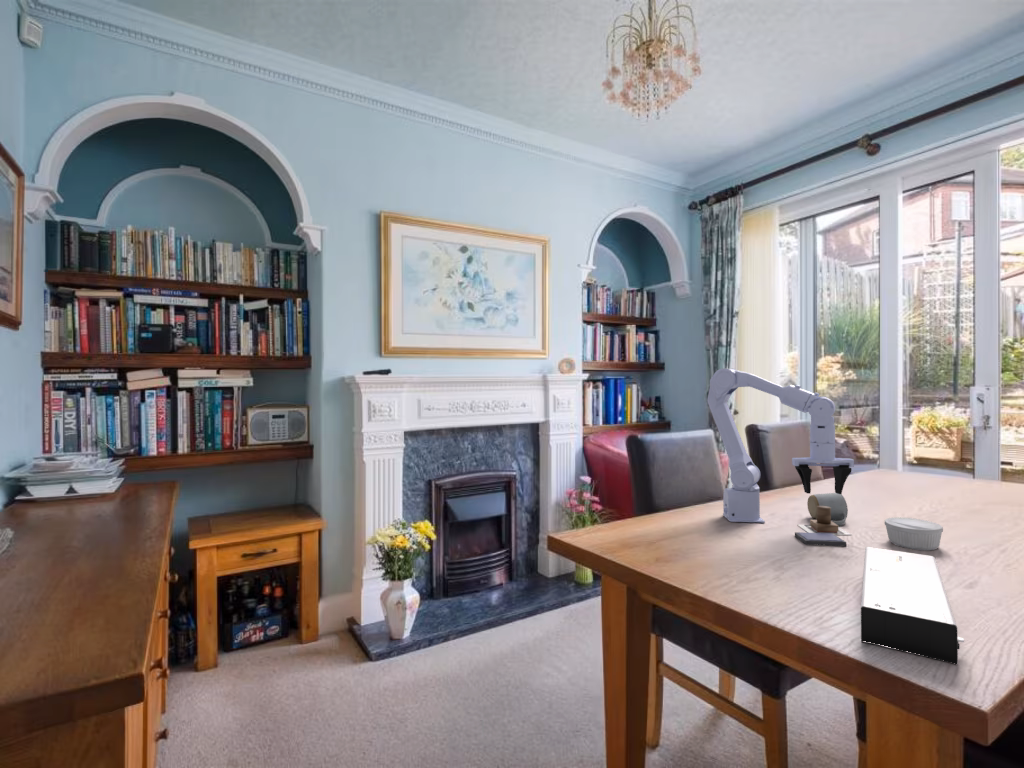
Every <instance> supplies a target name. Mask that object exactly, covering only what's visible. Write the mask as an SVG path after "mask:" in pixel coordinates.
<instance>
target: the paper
mask: <svg viewBox="0 0 1024 768" xmlns="http://www.w3.org/2000/svg"><path fill="white" fill-rule="evenodd" d="M797 526H798V527H799V528H800V529H802V530H804V532H805V533H832V534H834V535H836V536H852V534H851V533H850V532H848V531H846V530H845V529H843V528H841V527H840V526H838V532H817V531H816V530H815V529H813V528H812V527H811V526H810V524H797Z"/></svg>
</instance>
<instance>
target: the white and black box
mask: <svg viewBox="0 0 1024 768" xmlns="http://www.w3.org/2000/svg"><path fill="white" fill-rule="evenodd" d="M864 549H865V550H864V558H863V559H864V560H863V561H864V562H863V574H862V585H861V586H862V589H861V590H862V591H861V600H860V601H861V604H860V639H861V640H860V641H866V642H871V643H875V644H880V645H884V646H888V647H891V648H896V649H899V650H903V651H908V652H911V653H916V654H920V655H924V656H928V657H927V658H929V657H931V658H930V659H933V658H936V659H935V660H937V659H940V660H939V661H941V660H944V661H943V662H945V661H948V662H947V663H949V662H952V663H951V664H953V663H955V664H954V665H956V664H957V665H958V661H959V659H958V658H959V656H958V654H959V652H958V651H959V650H960V643H965V639H964V637H960V636H958V626H957V622H956V620H955V616H954V614H953V610H952V607H951V604H950V601H949V597H948V595H947V592H946V589H945V585H944V582H943V579H942V575H941V571H940V569H939V567H938V563H937V560H936V557H935V556H934V555H927V554H921V553H913V552H908V551H899V550H893V549H892V550H891V549H886V548H880V547H879V548H878V547H874V546H873V547H872V546H865V548H864ZM959 642H960V643H959ZM903 651H902V652H903ZM911 653H910V654H911ZM916 654H915V655H916ZM920 655H919V656H920ZM924 656H923V657H924Z"/></svg>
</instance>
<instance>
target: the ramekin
mask: <svg viewBox="0 0 1024 768" xmlns="http://www.w3.org/2000/svg"><path fill="white" fill-rule="evenodd" d="M884 526H885V528H886V533H887V534H886V535H887V537H888V540H889V541H890V542H891V544H893V545H896V546H897V547H902V548H904V549H905V548H906V549H909V550H919V551H933V550H934V551H935V550H936V549H938V548H939V547H940V545H941V538H942V533H943V531H944V528H943V526H942V525H941V524H939V523H936V522H933V521H929V520H924V519H920V518H912V517H902V516H901V517H899V516H897V517H889V518H886V519H884Z"/></svg>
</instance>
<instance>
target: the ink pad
mask: <svg viewBox="0 0 1024 768" xmlns="http://www.w3.org/2000/svg"><path fill="white" fill-rule="evenodd" d="M794 537H795V538H796V539H798V540H799V541H801V542H802V543H803V544H804V545H807V546H829V547H831V546H833V547H847V541H845V540H844V539H842V538H840V537H839V536H838V535H834V534H832V533H808V532H800V531H798V532H794Z"/></svg>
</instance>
